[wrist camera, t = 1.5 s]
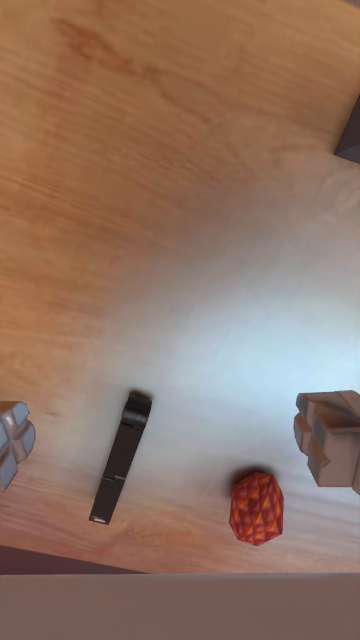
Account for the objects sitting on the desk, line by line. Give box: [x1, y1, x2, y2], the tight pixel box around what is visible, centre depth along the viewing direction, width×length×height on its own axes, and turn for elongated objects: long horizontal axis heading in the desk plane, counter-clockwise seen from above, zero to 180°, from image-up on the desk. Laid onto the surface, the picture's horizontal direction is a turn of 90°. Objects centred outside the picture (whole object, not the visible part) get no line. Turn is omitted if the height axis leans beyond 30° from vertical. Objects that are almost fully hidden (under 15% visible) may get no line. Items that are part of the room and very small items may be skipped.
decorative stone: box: [229, 472, 284, 546], centre depth 31 cm, size 6×7×8 cm
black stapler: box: [89, 394, 152, 525], centre depth 30 cm, size 18×3×3 cm, turn 161°
